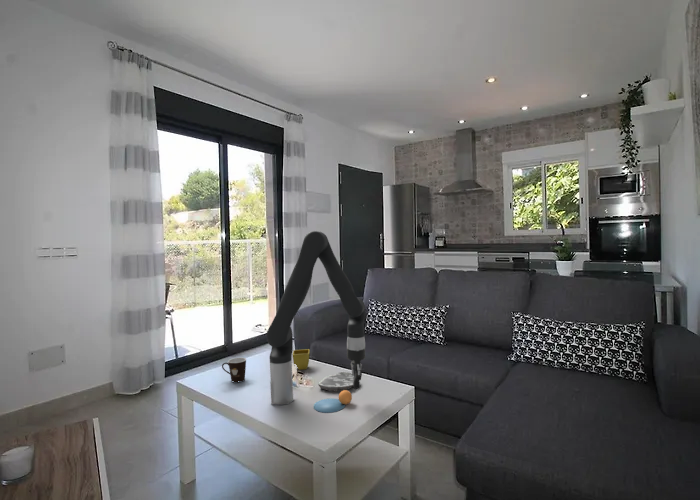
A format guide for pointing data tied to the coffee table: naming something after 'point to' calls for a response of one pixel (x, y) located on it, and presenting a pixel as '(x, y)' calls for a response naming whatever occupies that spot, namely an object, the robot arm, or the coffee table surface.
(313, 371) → the coffee table surface
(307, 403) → the coffee table surface
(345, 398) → the ball
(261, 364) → the coffee table surface
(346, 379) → the brain slice
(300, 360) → the flower pot
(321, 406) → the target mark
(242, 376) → the coffee mug
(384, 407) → the coffee table surface
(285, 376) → the robot arm
